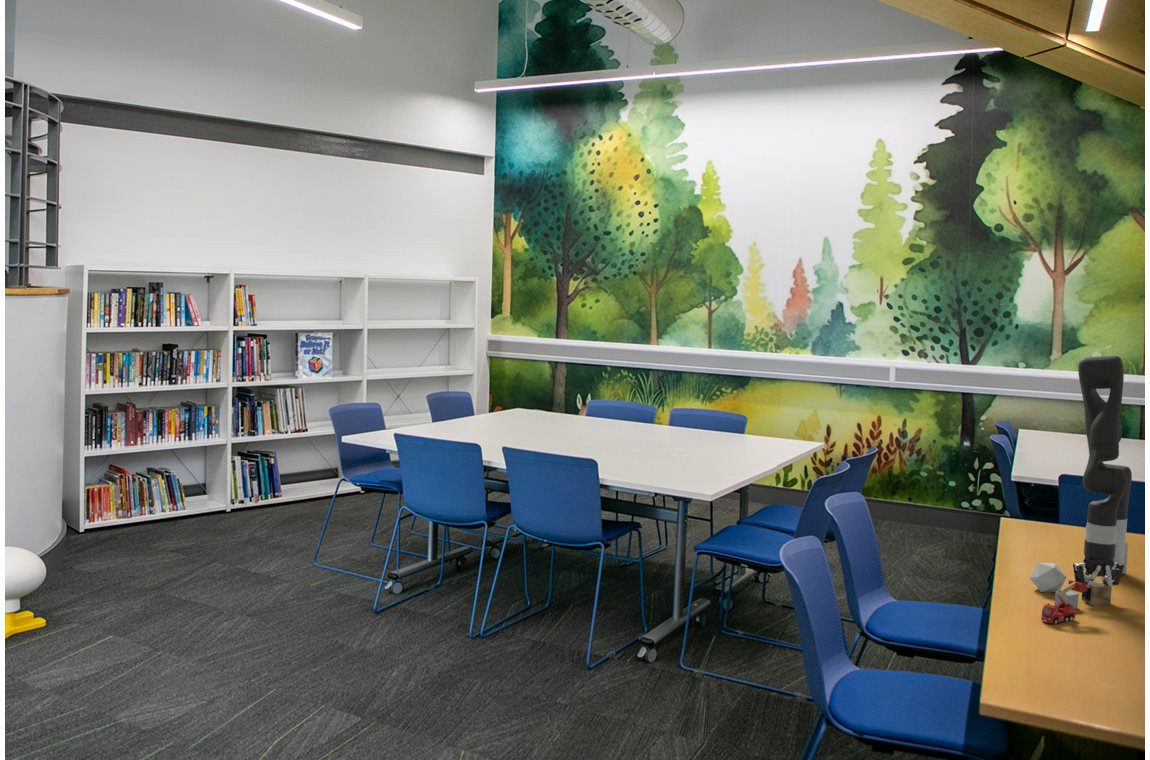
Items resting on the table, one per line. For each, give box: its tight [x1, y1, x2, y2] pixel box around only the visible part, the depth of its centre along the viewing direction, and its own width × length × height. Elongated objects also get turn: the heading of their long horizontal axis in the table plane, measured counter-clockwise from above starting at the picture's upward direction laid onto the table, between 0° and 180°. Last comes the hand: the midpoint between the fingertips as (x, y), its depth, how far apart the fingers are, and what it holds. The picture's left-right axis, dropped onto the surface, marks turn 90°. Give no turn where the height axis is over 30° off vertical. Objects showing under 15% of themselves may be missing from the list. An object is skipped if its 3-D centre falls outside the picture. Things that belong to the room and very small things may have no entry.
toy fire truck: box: [1040, 579, 1087, 625], centre depth 244 cm, size 3×14×10 cm, turn 118°
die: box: [1029, 562, 1068, 593], centre depth 269 cm, size 8×9×10 cm
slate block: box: [1054, 590, 1079, 610], centre depth 255 cm, size 4×4×4 cm
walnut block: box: [1081, 581, 1113, 606], centre depth 259 cm, size 5×5×5 cm
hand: (1095, 599), depth 260 cm, fingers closed on walnut block, 5 cm apart
